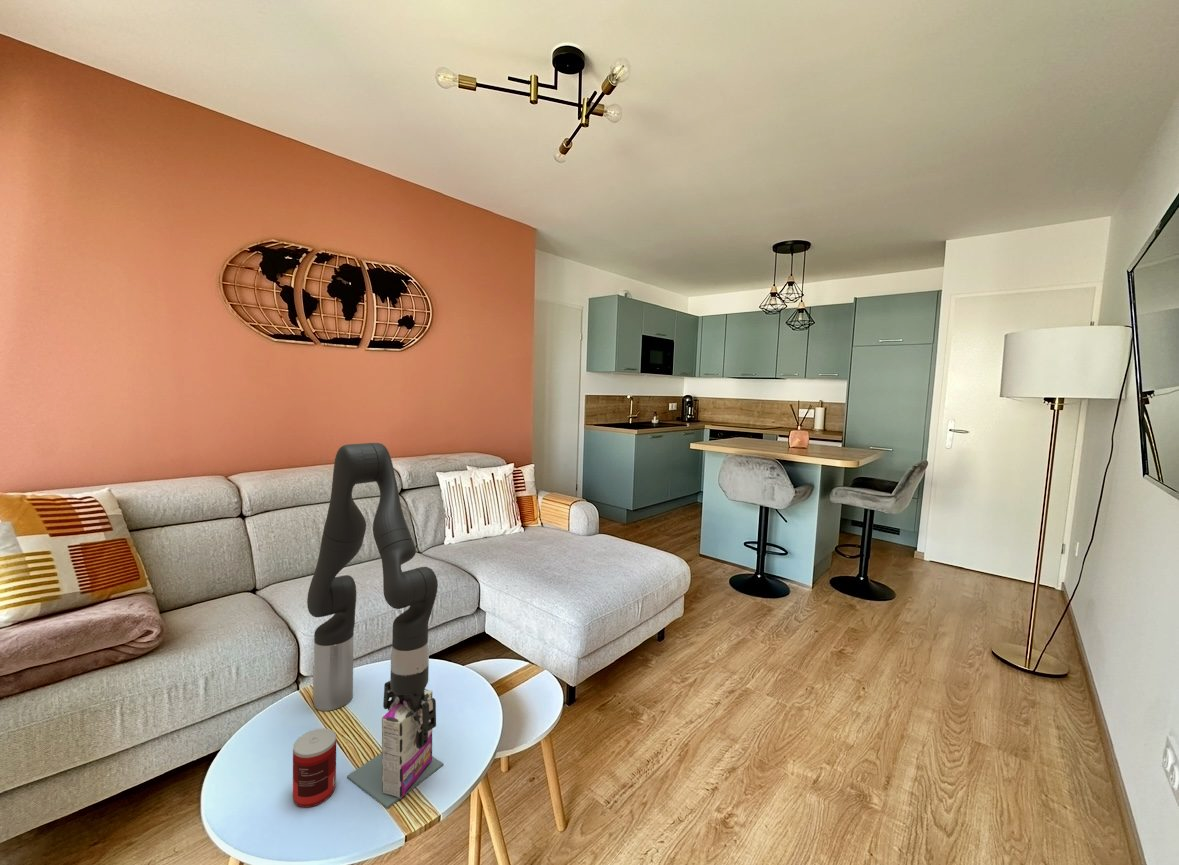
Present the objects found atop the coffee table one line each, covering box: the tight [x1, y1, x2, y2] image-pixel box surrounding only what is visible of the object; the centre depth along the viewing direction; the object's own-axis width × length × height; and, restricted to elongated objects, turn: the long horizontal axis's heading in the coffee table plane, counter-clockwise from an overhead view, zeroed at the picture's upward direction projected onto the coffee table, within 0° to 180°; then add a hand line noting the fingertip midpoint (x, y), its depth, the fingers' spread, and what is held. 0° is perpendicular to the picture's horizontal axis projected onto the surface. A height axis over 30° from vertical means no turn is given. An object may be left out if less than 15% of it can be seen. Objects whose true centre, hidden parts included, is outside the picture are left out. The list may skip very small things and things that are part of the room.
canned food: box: [292, 727, 337, 808], centre depth 96 cm, size 8×8×11 cm
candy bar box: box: [381, 688, 433, 799], centre depth 101 cm, size 11×5×16 cm, turn 165°
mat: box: [346, 752, 444, 809], centre depth 103 cm, size 14×14×1 cm
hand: (408, 737), depth 100 cm, fingers open, 8 cm apart
